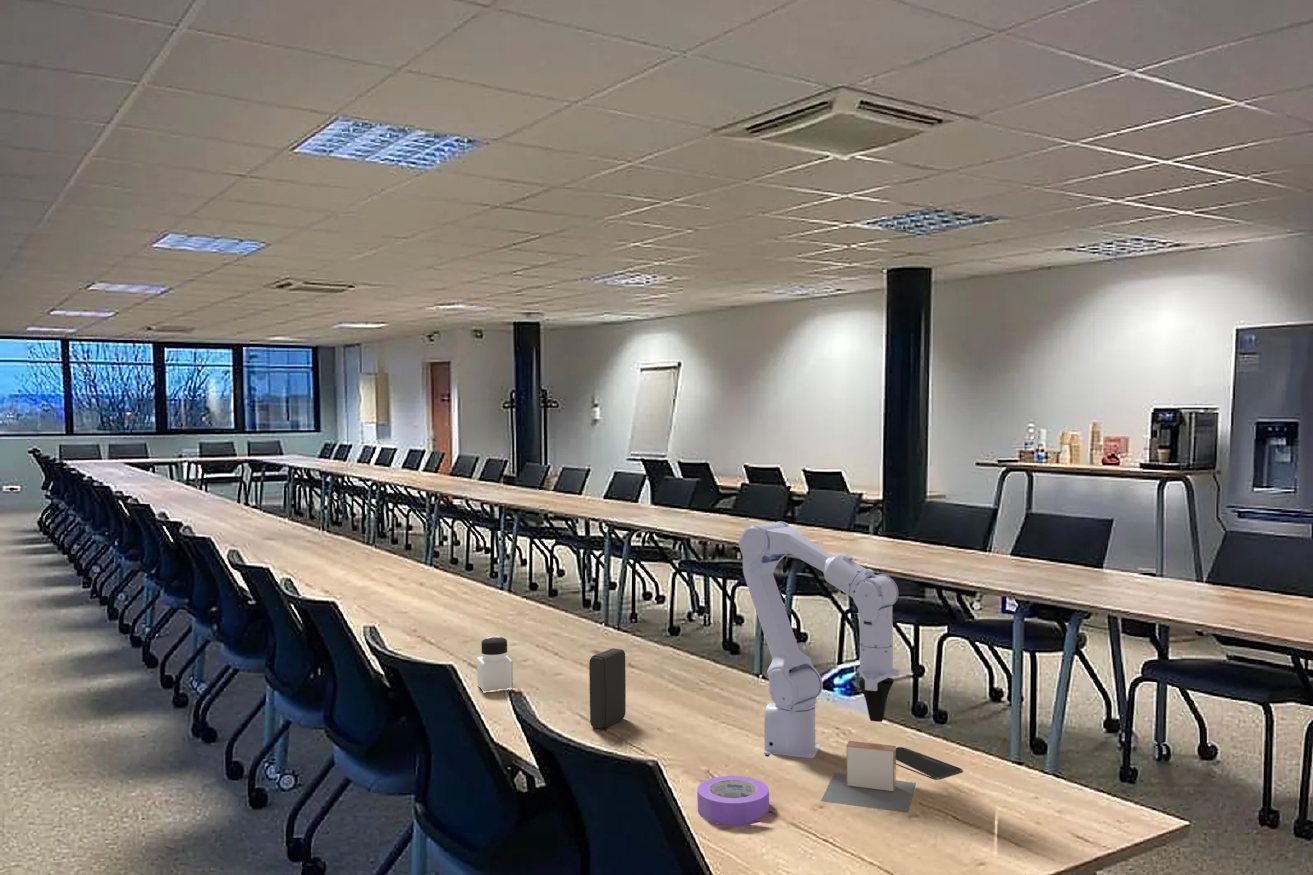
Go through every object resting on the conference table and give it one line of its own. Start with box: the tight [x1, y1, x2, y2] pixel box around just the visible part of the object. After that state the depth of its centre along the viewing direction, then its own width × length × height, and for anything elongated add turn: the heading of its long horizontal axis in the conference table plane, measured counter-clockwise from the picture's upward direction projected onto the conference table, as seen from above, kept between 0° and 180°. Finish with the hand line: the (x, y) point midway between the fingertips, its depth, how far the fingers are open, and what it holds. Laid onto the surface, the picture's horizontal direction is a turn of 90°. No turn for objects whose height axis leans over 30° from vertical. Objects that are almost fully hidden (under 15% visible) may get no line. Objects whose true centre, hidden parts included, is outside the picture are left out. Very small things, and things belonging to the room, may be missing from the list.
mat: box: [820, 772, 916, 813], centre depth 159 cm, size 14×13×1 cm
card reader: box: [588, 647, 627, 730], centre depth 198 cm, size 9×4×15 cm, turn 149°
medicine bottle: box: [476, 636, 514, 692], centre depth 225 cm, size 7×7×12 cm
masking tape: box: [696, 775, 770, 827], centre depth 153 cm, size 12×12×4 cm
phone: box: [896, 746, 963, 780], centre depth 172 cm, size 8×1×15 cm
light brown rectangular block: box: [846, 740, 897, 792], centre depth 161 cm, size 8×3×7 cm, turn 70°
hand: (876, 720), depth 168 cm, fingers closed
